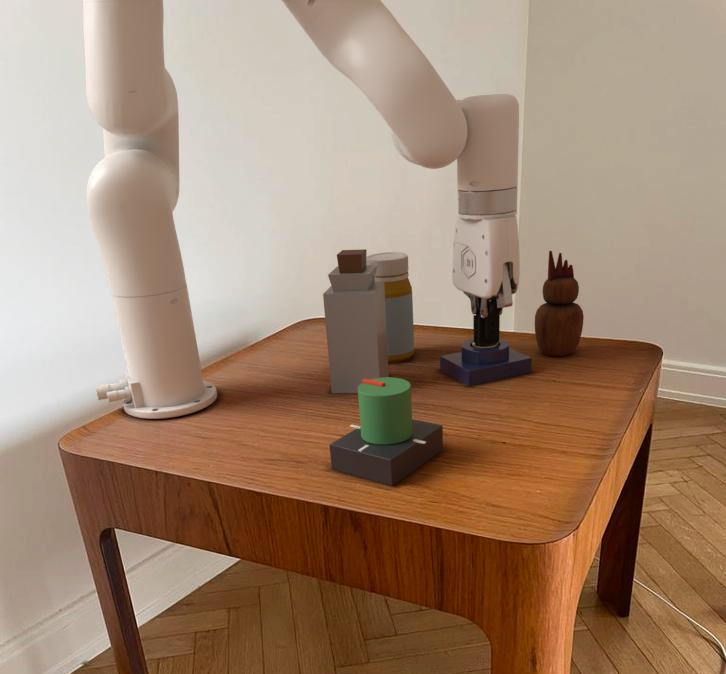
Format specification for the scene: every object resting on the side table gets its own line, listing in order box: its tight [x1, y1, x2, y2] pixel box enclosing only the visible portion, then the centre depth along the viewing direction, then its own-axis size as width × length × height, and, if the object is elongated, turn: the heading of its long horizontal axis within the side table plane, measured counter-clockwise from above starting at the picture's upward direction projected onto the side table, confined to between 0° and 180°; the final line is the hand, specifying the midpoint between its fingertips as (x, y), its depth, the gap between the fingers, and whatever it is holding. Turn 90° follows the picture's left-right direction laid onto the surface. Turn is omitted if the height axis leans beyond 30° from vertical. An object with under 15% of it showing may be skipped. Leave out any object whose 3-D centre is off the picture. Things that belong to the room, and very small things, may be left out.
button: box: [472, 342, 498, 349], centre depth 104 cm, size 4×4×2 cm
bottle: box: [366, 251, 415, 364], centre depth 111 cm, size 7×7×15 cm
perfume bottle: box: [322, 248, 390, 394], centre depth 100 cm, size 7×7×18 cm
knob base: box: [329, 417, 444, 487], centre depth 81 cm, size 10×10×3 cm
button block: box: [439, 338, 532, 387], centre depth 105 cm, size 10×8×4 cm
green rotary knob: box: [357, 376, 413, 445], centre depth 79 cm, size 6×6×6 cm
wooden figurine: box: [534, 250, 585, 358], centre depth 107 cm, size 7×6×15 cm
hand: (486, 342), depth 104 cm, fingers closed
